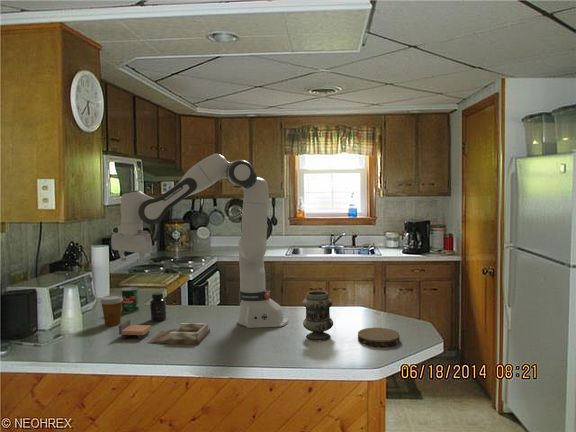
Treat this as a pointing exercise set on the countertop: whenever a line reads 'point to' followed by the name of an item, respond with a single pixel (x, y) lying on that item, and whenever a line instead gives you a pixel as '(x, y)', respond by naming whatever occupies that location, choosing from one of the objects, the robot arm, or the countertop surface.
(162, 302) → the supplement bottle
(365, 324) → the countertop surface
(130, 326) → the trolley
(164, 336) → the loading dock
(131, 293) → the canned tomato
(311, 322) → the apothecary jar
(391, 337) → the brown round disc
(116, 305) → the disposable coffee cup
